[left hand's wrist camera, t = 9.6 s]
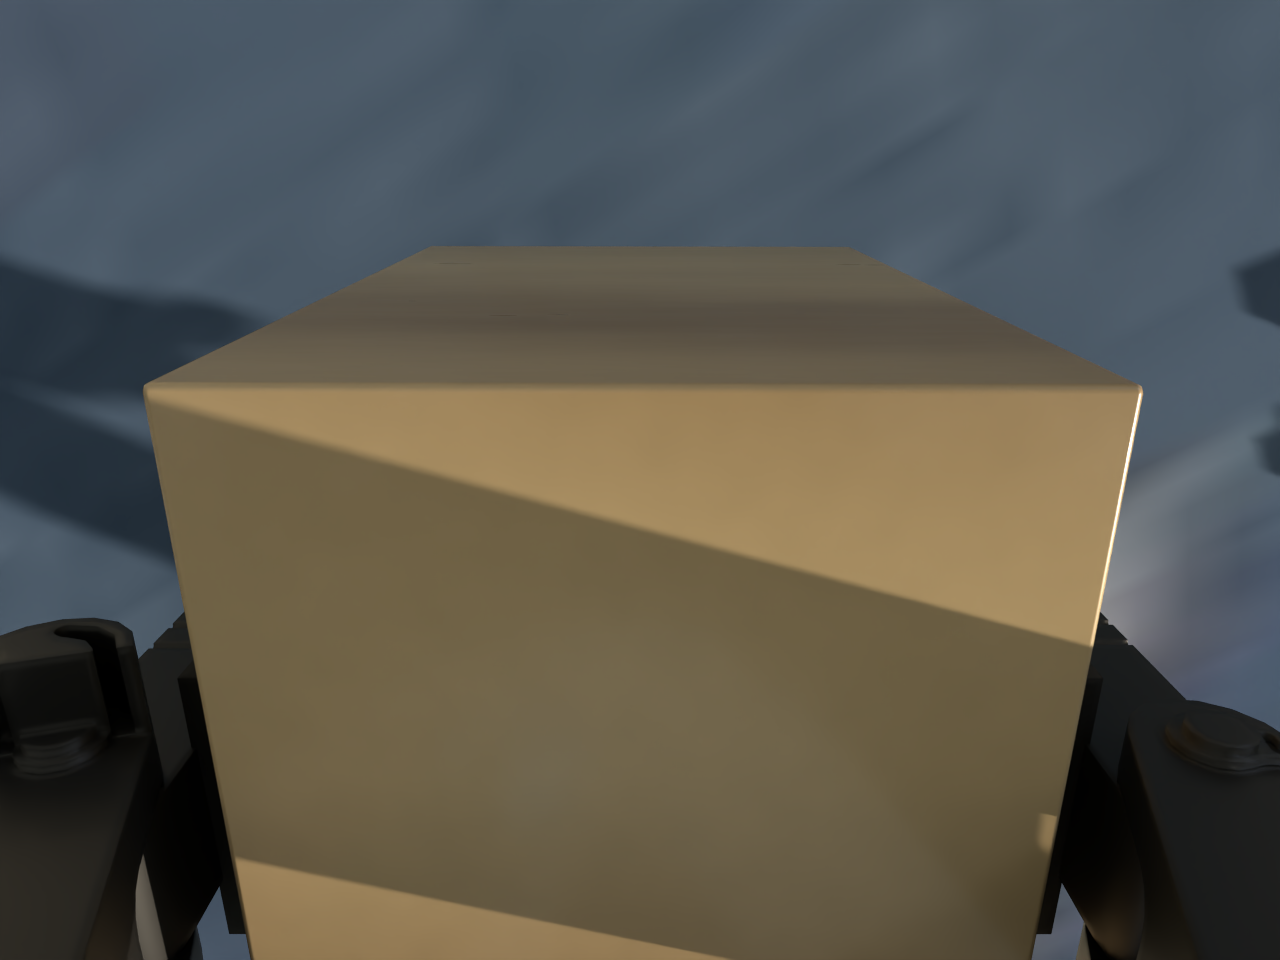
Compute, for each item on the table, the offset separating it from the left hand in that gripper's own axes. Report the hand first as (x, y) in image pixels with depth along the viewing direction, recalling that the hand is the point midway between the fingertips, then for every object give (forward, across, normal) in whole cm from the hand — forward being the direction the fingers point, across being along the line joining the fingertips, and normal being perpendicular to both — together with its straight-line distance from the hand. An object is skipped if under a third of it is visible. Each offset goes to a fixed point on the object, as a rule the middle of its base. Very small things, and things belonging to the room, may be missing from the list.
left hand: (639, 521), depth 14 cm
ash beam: (0, 0, -14) cm, 14 cm away
